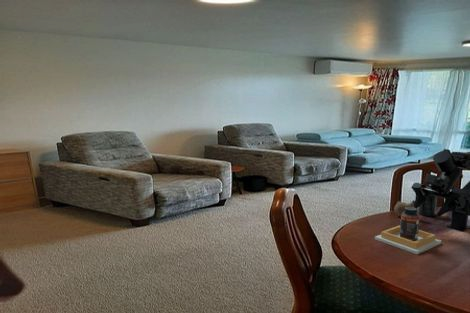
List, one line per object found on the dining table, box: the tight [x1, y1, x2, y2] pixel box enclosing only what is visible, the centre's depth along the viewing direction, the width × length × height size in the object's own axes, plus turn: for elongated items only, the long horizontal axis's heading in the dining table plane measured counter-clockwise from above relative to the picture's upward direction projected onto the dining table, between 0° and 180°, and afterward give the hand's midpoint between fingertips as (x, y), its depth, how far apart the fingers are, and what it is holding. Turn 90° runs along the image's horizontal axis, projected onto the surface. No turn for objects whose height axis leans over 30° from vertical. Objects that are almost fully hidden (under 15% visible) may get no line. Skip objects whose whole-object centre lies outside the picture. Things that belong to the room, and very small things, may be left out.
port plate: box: [374, 224, 442, 255], centre depth 137 cm, size 16×16×3 cm
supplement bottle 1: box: [399, 207, 420, 241], centre depth 136 cm, size 6×6×11 cm
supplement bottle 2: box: [417, 186, 438, 217], centre depth 167 cm, size 7×7×12 cm
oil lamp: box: [393, 200, 415, 218], centre depth 163 cm, size 9×4×8 cm, turn 60°
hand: (425, 212), depth 140 cm, fingers open, 9 cm apart
